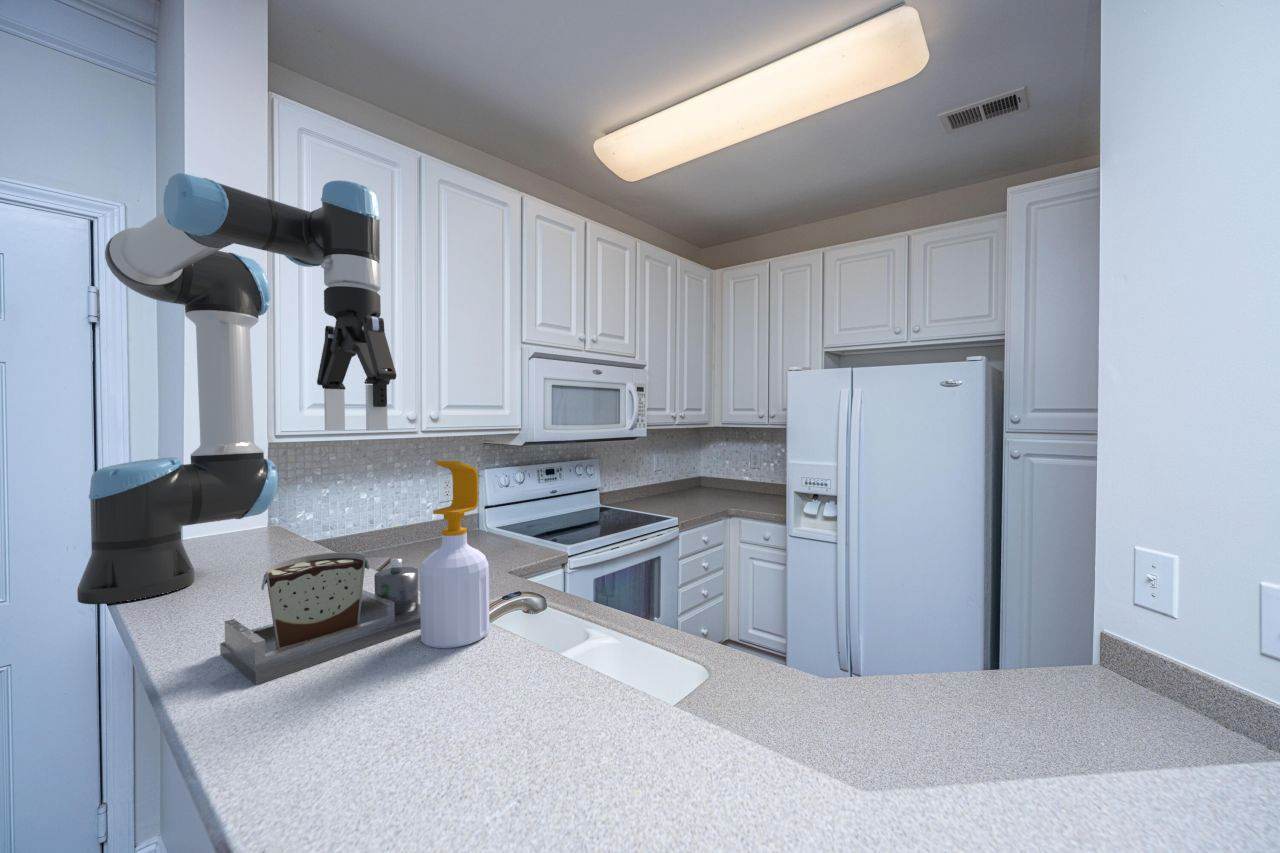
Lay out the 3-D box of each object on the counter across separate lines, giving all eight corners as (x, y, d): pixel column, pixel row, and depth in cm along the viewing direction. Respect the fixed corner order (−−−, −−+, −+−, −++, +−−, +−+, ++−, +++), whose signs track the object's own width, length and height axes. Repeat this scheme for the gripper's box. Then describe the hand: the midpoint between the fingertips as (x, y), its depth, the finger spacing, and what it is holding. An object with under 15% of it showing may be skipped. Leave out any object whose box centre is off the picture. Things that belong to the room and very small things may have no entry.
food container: (355, 614, 77) (354, 546, 77) (370, 625, 73) (369, 554, 73) (253, 640, 68) (251, 564, 68) (263, 654, 64) (261, 573, 64)
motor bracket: (220, 654, 67) (219, 585, 67) (394, 603, 86) (393, 549, 85) (256, 685, 59) (254, 606, 59) (439, 621, 78) (438, 561, 78)
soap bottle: (405, 645, 70) (403, 462, 69) (449, 620, 78) (447, 457, 78) (463, 653, 67) (460, 463, 67) (501, 626, 76) (499, 458, 75)
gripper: (292, 297, 83) (294, 430, 84) (367, 269, 68) (369, 431, 69) (341, 305, 89) (343, 429, 90) (420, 281, 74) (422, 429, 75)
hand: (354, 430), depth 79 cm, fingers open, 13 cm apart
